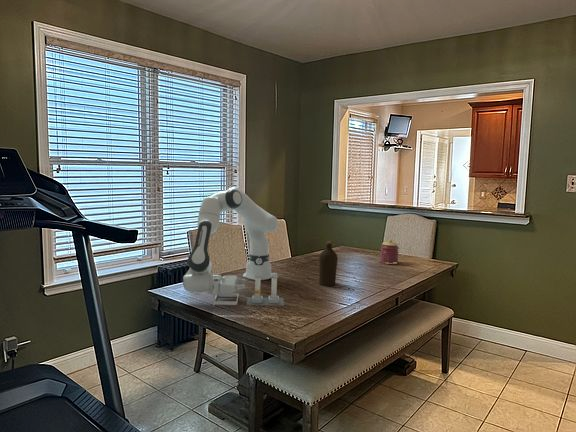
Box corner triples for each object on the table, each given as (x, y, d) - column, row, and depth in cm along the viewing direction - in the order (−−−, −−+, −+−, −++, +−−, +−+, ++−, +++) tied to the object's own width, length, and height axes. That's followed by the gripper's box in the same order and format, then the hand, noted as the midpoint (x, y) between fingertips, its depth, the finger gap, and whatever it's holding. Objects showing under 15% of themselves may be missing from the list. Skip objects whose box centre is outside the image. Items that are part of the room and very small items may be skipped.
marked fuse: (254, 300, 217) (255, 272, 216) (260, 300, 217) (261, 272, 216) (254, 301, 214) (254, 273, 213) (260, 302, 214) (261, 273, 213)
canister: (386, 260, 330) (388, 237, 328) (401, 263, 320) (403, 239, 318) (376, 262, 321) (377, 238, 319) (391, 265, 311) (392, 241, 309)
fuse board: (247, 299, 221) (247, 293, 221) (283, 299, 223) (283, 294, 222) (246, 306, 210) (246, 300, 209) (284, 307, 211) (284, 301, 210)
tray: (216, 298, 221) (216, 293, 221) (238, 298, 222) (238, 293, 221) (213, 306, 208) (213, 301, 208) (236, 306, 209) (237, 301, 209)
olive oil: (330, 287, 248) (332, 244, 246) (314, 284, 254) (316, 241, 252) (339, 284, 257) (341, 241, 254) (323, 280, 263) (325, 239, 260)
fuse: (270, 300, 218) (271, 272, 216) (276, 300, 218) (277, 272, 216) (270, 302, 215) (271, 274, 213) (276, 302, 215) (277, 274, 213)
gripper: (219, 284, 224) (246, 284, 225) (214, 296, 204) (244, 296, 204) (219, 272, 223) (246, 272, 224) (214, 282, 203) (244, 283, 204)
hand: (245, 284), depth 214 cm, fingers open, 8 cm apart
